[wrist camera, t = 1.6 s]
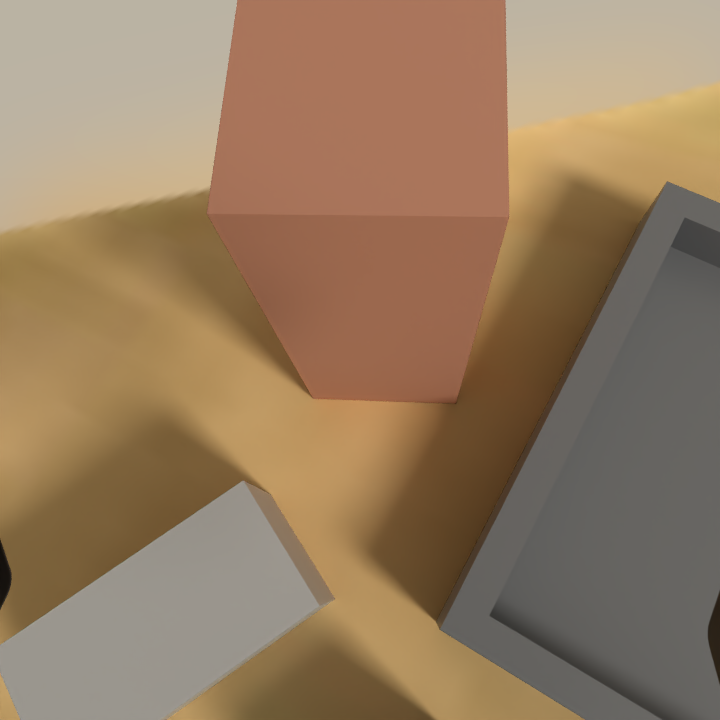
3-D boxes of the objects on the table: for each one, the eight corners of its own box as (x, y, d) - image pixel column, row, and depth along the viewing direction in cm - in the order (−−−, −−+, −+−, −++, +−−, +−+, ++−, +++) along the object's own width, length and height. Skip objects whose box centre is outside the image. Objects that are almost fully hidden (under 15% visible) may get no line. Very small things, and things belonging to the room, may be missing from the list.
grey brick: (121, 752, 20) (53, 796, 16) (66, 635, 21) (-9, 650, 17) (335, 598, 21) (319, 605, 17) (272, 495, 22) (243, 480, 18)
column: (455, 403, 22) (508, 216, 10) (313, 398, 23) (207, 213, 11) (457, 272, 24) (505, -23, 12) (323, 270, 24) (239, -17, 12)
